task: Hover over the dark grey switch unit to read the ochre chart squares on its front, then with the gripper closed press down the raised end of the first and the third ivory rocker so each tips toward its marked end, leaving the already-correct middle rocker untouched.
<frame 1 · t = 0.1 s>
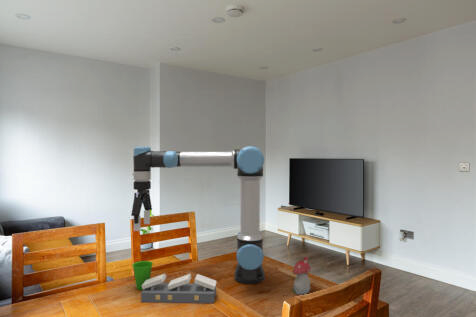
hand: (142, 227, 143), 28 cm above the table, fingers open, 13 cm apart
rocker 3: (154, 281, 134), point 7 cm above the table, hinge at 20.0°
rocker 1: (205, 281, 134), point 7 cm above the table, hinge at -20.0°
decorative ornament: (301, 292, 140), on the table
switch unit: (179, 297, 134), on the table
cup: (142, 288, 143), on the table
rocker 2: (179, 281, 134), point 7 cm above the table, hinge at 20.0°
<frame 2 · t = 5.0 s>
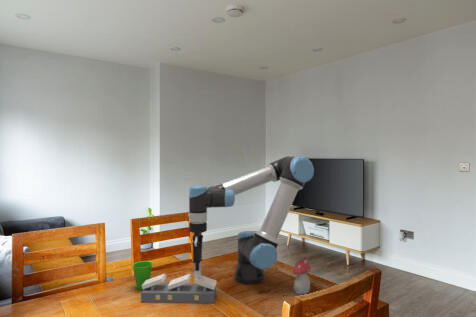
hand: (197, 277, 134), 9 cm above the table, fingers closed
rocker 1: (205, 281, 134), point 7 cm above the table, hinge at -18.9°, touching gripper
everything else where it was.
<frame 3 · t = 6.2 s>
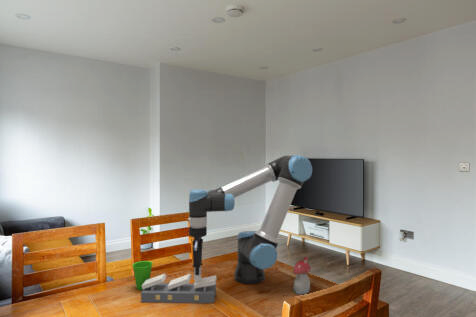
hand: (197, 281, 134), 7 cm above the table, fingers closed
rocker 1: (205, 281, 134), point 7 cm above the table, hinge at 10.6°, touching gripper
everything else where it was.
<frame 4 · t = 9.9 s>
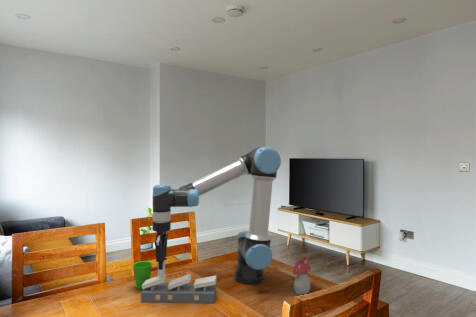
hand: (161, 276, 134), 9 cm above the table, fingers closed
rocker 3: (154, 281, 134), point 7 cm above the table, hinge at 20.0°, touching gripper
rocker 1: (205, 281, 134), point 7 cm above the table, hinge at 10.6°
everything else where it was.
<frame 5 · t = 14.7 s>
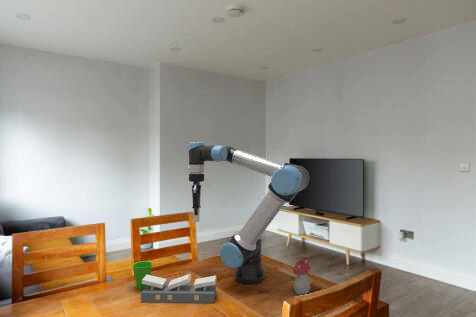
hand: (196, 221, 154), 28 cm above the table, fingers closed
rocker 3: (154, 281, 134), point 7 cm above the table, hinge at -12.4°
everything else where it was.
at the end: rocker 1 at +11° (first picture: -20°); rocker 2 at +20° (first picture: +20°); rocker 3 at -12° (first picture: +20°) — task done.
